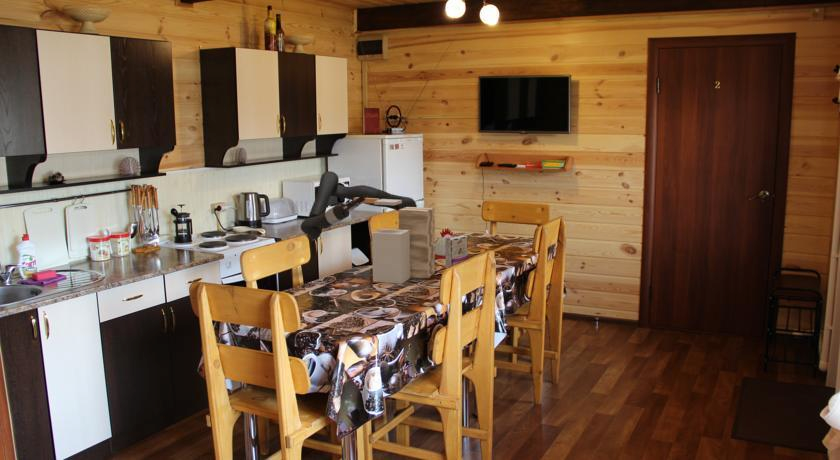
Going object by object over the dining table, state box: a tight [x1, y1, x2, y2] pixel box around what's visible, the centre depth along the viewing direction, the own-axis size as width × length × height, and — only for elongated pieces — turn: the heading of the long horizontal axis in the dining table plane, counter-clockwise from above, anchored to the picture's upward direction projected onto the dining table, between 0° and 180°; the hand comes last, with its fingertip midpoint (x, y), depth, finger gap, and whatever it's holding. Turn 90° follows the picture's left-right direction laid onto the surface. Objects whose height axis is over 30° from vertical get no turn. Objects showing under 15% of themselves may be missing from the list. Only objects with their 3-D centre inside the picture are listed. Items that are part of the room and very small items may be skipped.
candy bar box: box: [445, 235, 469, 269], centre depth 367 cm, size 11×5×16 cm, turn 130°
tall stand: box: [398, 206, 436, 279], centre depth 356 cm, size 11×14×32 cm
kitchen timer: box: [435, 227, 454, 260], centre depth 401 cm, size 14×14×15 cm
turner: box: [354, 197, 402, 205], centre depth 346 cm, size 9×22×2 cm, turn 69°
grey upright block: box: [371, 228, 411, 285], centre depth 347 cm, size 12×14×23 cm
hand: (365, 197), depth 348 cm, fingers closed on turner, 2 cm apart
